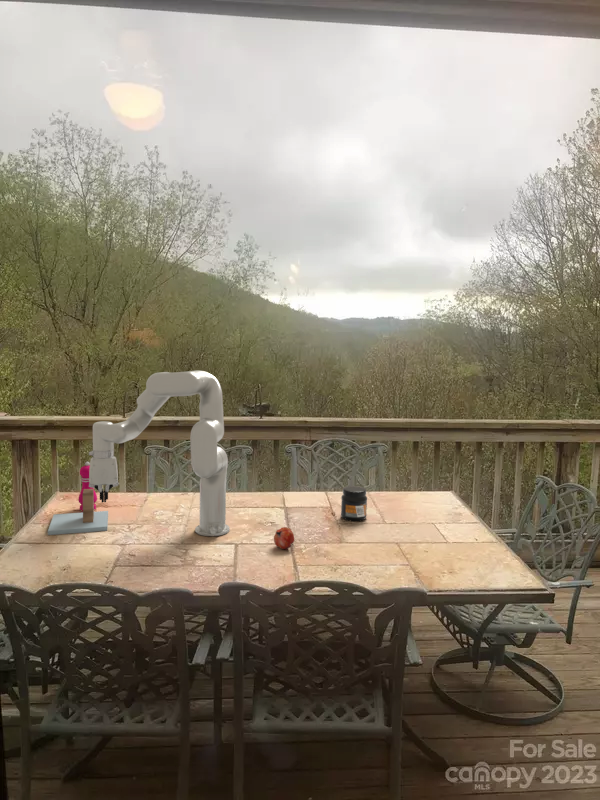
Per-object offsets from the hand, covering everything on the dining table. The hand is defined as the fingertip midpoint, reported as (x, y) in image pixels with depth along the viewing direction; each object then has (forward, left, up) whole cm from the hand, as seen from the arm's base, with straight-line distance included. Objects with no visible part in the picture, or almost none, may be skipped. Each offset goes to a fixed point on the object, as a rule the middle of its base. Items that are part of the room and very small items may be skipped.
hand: (103, 501), depth 210 cm
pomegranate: (-43, -59, -8) cm, 74 cm away
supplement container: (-18, -96, -8) cm, 98 cm away
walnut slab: (0, +6, -7) cm, 9 cm away
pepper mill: (+19, +7, -8) cm, 22 cm away
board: (0, +9, -8) cm, 12 cm away
